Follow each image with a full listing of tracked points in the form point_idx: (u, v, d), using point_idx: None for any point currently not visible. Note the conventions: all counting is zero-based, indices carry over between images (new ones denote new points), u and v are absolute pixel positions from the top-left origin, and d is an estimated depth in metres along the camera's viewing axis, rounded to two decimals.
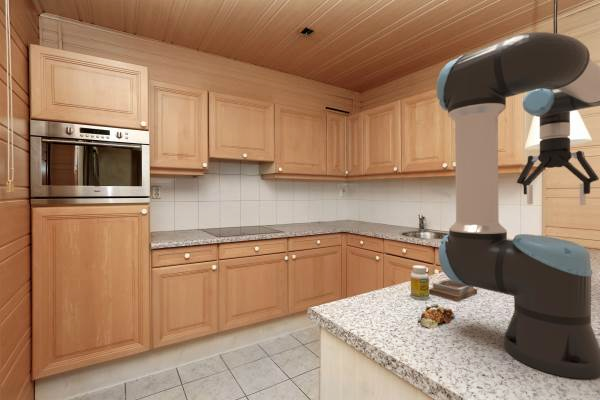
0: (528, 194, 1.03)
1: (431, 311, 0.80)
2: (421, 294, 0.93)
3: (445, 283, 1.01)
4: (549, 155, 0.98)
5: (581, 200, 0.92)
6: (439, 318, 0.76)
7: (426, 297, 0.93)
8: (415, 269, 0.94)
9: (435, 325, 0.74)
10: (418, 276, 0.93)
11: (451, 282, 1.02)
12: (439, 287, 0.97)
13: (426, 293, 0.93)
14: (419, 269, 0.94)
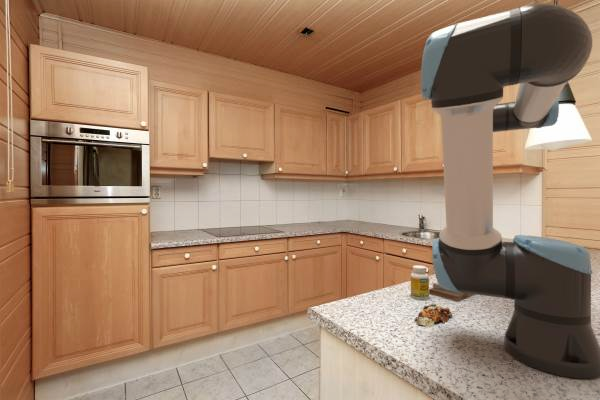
0: None
1: (428, 310, 0.80)
2: (421, 294, 0.93)
3: None
4: None
5: None
6: (436, 317, 0.76)
7: (426, 297, 0.93)
8: (415, 269, 0.94)
9: (431, 324, 0.75)
10: (419, 276, 0.93)
11: None
12: (439, 287, 0.97)
13: (426, 293, 0.93)
14: (419, 269, 0.93)
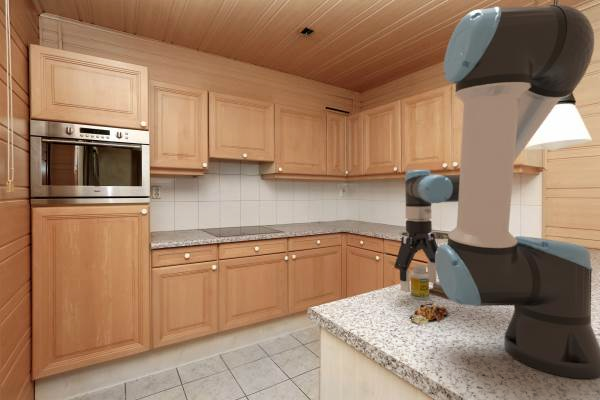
0: None
1: (424, 308, 0.82)
2: (421, 294, 0.93)
3: None
4: None
5: None
6: (430, 315, 0.78)
7: (426, 297, 0.93)
8: (415, 269, 0.94)
9: (425, 322, 0.76)
10: (418, 276, 0.93)
11: None
12: (439, 287, 0.97)
13: (426, 293, 0.93)
14: (419, 269, 0.94)
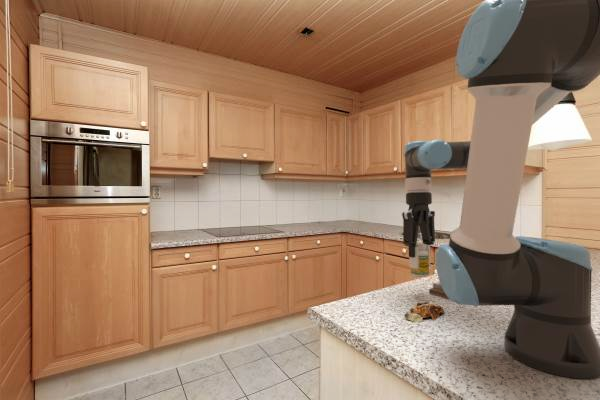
0: None
1: (420, 307, 0.83)
2: (421, 271, 0.92)
3: None
4: None
5: None
6: (425, 313, 0.79)
7: (426, 274, 0.93)
8: None
9: (419, 319, 0.78)
10: (418, 253, 0.93)
11: None
12: (439, 287, 0.97)
13: (426, 270, 0.93)
14: (418, 246, 0.93)
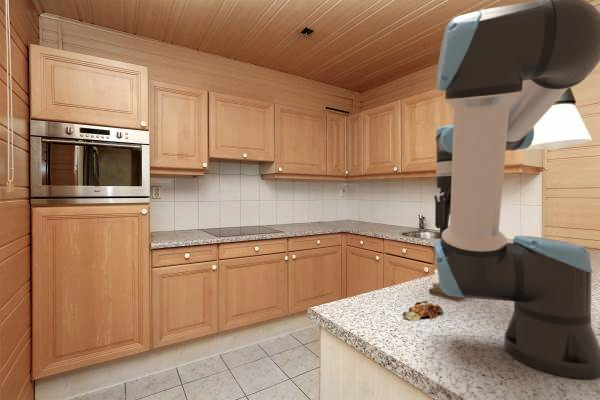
0: None
1: (419, 306, 0.83)
2: None
3: None
4: None
5: None
6: (423, 312, 0.79)
7: None
8: None
9: (417, 318, 0.78)
10: None
11: None
12: (439, 287, 0.97)
13: None
14: None
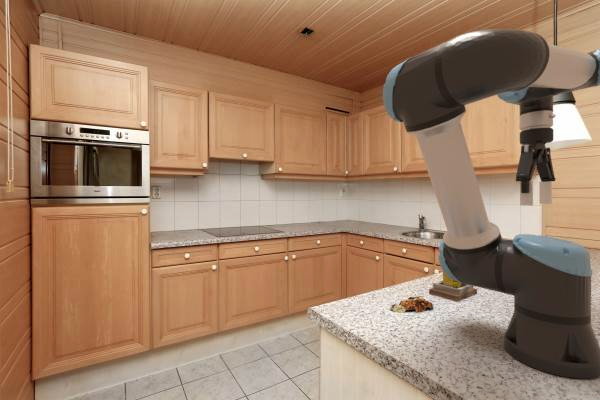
0: None
1: (410, 300, 0.88)
2: (454, 286, 0.96)
3: None
4: None
5: None
6: (409, 306, 0.84)
7: None
8: None
9: (402, 311, 0.84)
10: None
11: None
12: (439, 287, 0.97)
13: (459, 285, 0.96)
14: None
